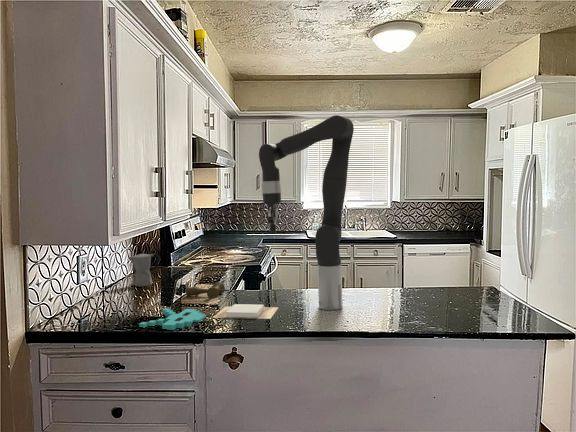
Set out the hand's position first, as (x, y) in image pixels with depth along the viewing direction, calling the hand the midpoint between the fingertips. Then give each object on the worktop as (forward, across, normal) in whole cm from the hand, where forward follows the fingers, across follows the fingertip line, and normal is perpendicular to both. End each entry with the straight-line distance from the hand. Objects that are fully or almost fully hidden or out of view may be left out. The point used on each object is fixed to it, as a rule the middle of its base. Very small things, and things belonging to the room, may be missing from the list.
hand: (273, 233), depth 192 cm
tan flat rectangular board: (+29, -20, +7) cm, 36 cm away
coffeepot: (+29, +29, +75) cm, 86 cm away
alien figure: (+30, -30, +31) cm, 52 cm away
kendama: (+30, +6, +32) cm, 44 cm away
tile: (+27, -17, +7) cm, 32 cm away
